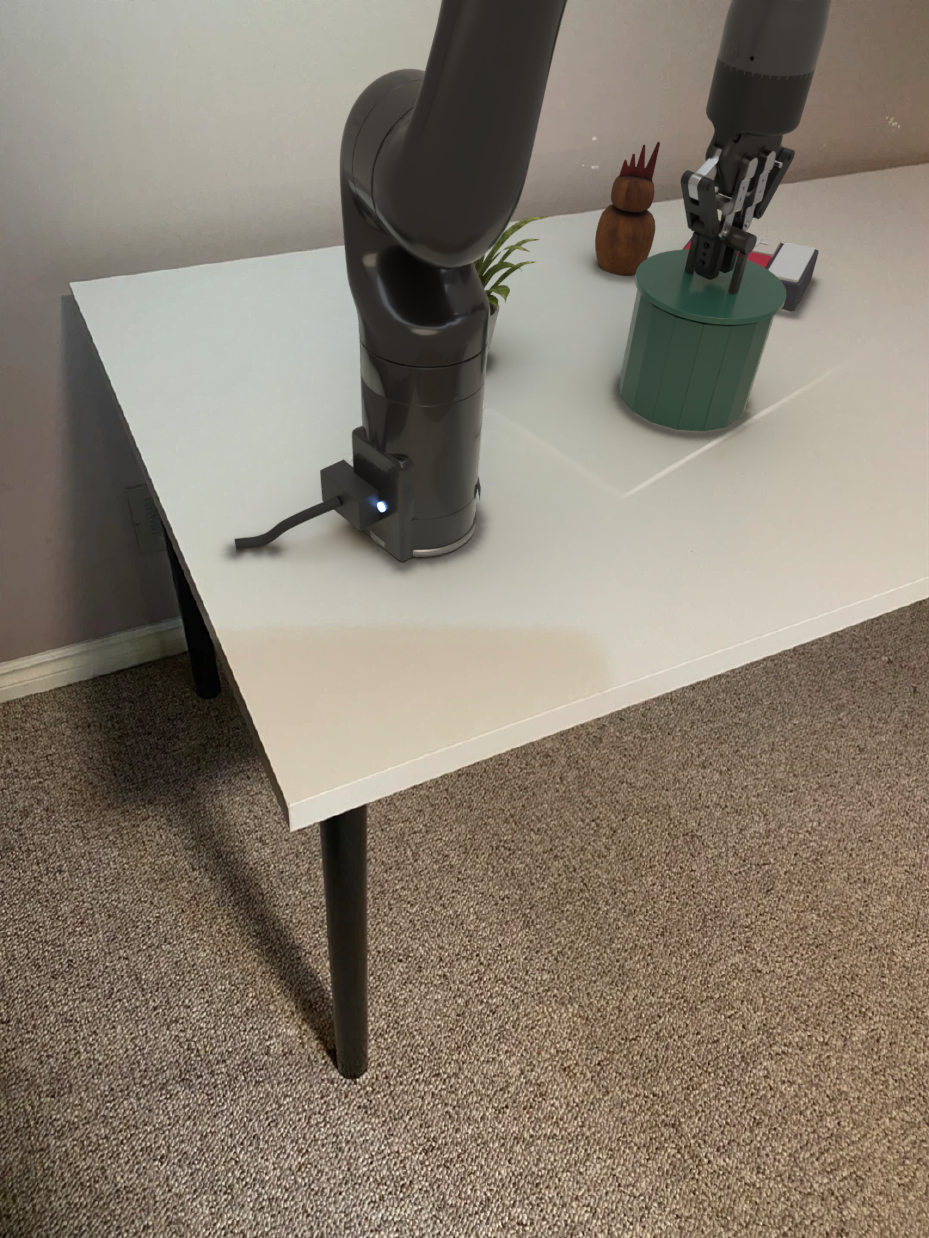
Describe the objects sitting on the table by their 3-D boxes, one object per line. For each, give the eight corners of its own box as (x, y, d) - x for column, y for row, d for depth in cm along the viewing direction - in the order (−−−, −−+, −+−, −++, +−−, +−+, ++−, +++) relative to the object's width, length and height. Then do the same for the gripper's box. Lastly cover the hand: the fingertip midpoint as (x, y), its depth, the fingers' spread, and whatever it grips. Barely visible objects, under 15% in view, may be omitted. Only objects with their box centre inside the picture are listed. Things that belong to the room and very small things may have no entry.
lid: (723, 347, 78) (743, 273, 74) (603, 287, 85) (614, 216, 80) (811, 301, 85) (835, 231, 81) (694, 249, 92) (709, 181, 87)
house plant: (568, 366, 97) (591, 208, 85) (479, 417, 89) (491, 251, 78) (468, 316, 103) (477, 163, 91) (378, 360, 96) (375, 199, 84)
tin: (692, 451, 87) (722, 340, 79) (593, 393, 93) (611, 285, 85) (768, 405, 93) (804, 298, 85) (671, 354, 100) (695, 249, 91)
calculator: (699, 221, 116) (821, 243, 111) (693, 255, 119) (812, 278, 114) (673, 253, 109) (802, 279, 104) (667, 289, 112) (792, 315, 107)
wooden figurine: (653, 270, 114) (680, 140, 103) (633, 287, 110) (659, 154, 99) (604, 255, 116) (625, 126, 105) (583, 271, 112) (603, 140, 102)
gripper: (755, 84, 66) (699, 310, 79) (856, 55, 73) (790, 267, 85) (673, 58, 70) (632, 278, 82) (777, 32, 77) (724, 239, 89)
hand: (713, 271), depth 84 cm, fingers closed on lid
